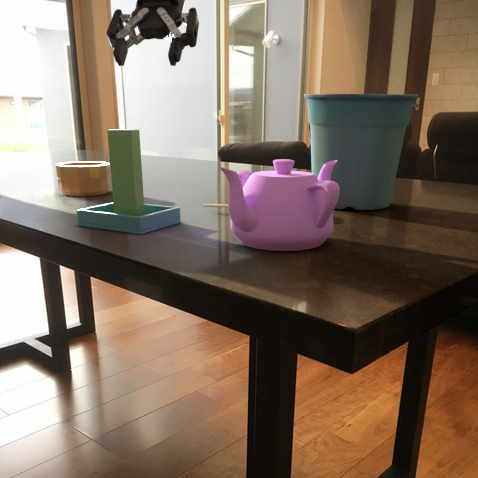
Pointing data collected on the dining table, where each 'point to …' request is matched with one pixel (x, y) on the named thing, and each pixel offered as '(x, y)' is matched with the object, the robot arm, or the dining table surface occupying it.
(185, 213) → the dining table surface
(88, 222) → the tray
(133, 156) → the block
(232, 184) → the teapot
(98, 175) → the bowl
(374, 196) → the flower pot
